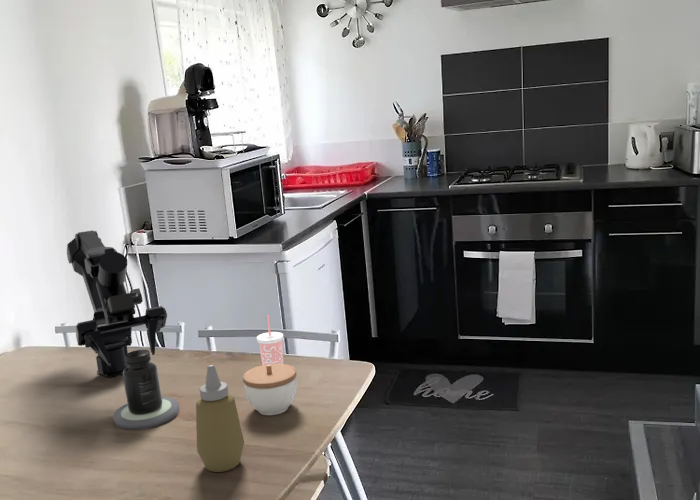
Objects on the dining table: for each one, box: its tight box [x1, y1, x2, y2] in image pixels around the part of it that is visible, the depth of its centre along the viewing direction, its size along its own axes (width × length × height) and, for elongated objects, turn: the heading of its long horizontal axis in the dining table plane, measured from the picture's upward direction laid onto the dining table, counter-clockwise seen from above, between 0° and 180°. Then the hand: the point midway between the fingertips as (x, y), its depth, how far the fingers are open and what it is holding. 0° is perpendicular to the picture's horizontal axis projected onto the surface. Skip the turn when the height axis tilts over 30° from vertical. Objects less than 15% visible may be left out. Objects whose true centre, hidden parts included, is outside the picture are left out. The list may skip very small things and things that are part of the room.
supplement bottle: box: [122, 349, 163, 415], centre depth 139 cm, size 7×7×12 cm
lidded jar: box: [242, 363, 297, 416], centre depth 138 cm, size 11×11×9 cm
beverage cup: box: [256, 314, 284, 365], centre depth 157 cm, size 6×6×14 cm
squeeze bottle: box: [195, 364, 245, 473], centre depth 116 cm, size 8×8×18 cm
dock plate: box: [112, 396, 180, 431], centre depth 141 cm, size 13×13×1 cm
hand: (132, 359), depth 145 cm, fingers open, 9 cm apart
